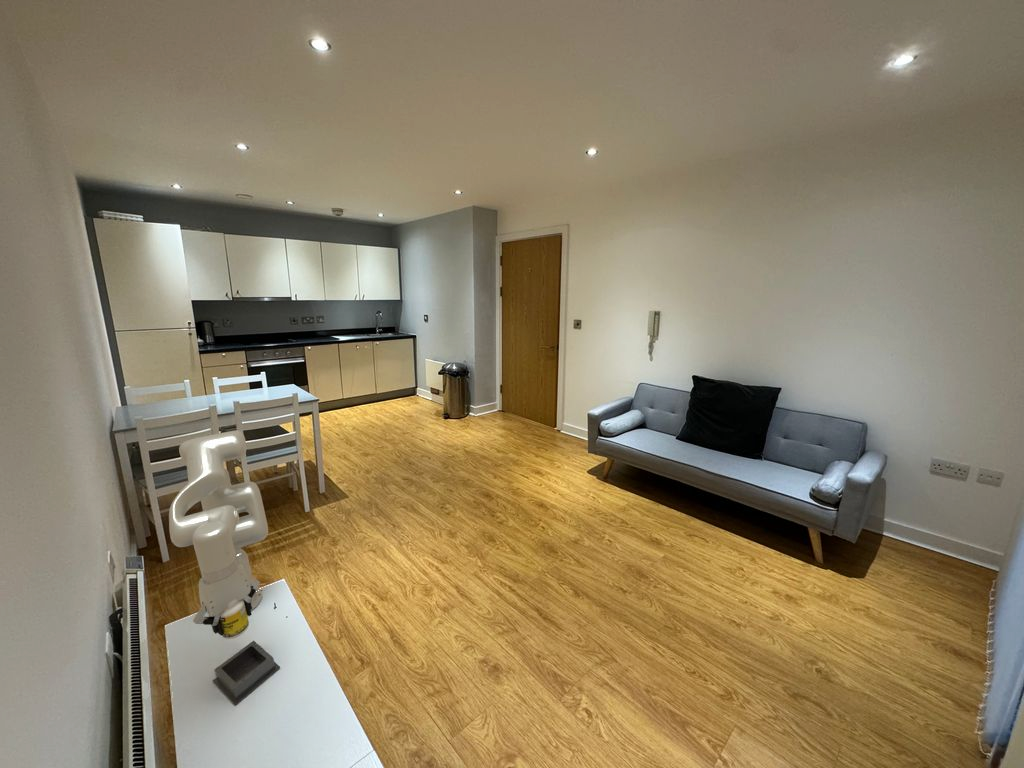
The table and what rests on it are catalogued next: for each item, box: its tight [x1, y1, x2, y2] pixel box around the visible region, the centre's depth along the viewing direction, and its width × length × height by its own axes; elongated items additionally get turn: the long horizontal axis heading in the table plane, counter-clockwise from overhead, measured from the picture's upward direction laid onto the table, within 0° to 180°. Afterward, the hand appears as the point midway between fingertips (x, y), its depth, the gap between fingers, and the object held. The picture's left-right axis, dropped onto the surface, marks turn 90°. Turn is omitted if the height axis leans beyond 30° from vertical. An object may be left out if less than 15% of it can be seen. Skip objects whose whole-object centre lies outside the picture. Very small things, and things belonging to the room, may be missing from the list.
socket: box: [211, 640, 281, 707], centre depth 113 cm, size 12×12×4 cm
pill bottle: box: [219, 599, 250, 640], centre depth 107 cm, size 6×6×11 cm
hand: (233, 622), depth 108 cm, fingers closed on pill bottle, 6 cm apart
